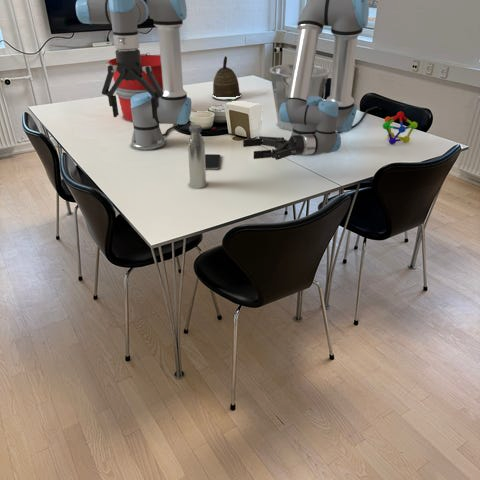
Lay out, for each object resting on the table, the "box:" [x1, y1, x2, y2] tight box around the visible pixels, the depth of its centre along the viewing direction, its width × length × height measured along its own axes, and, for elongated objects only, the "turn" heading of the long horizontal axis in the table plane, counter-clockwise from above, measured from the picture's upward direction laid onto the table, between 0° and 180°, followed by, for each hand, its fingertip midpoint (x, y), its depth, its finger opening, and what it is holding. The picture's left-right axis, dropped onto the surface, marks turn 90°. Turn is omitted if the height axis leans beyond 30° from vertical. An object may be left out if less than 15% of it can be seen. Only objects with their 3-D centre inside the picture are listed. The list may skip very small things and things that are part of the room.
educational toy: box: [382, 110, 418, 145], centre depth 207 cm, size 16×13×15 cm
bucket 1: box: [105, 52, 163, 123], centre depth 239 cm, size 35×35×30 cm
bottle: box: [187, 132, 207, 189], centre depth 164 cm, size 6×6×22 cm
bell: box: [212, 56, 242, 97], centre depth 278 cm, size 19×26×20 cm
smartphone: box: [205, 153, 221, 170], centre depth 189 cm, size 7×1×15 cm
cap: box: [188, 124, 203, 134], centre depth 158 cm, size 4×4×2 cm
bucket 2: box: [269, 63, 330, 131], centre depth 226 cm, size 30×30×28 cm
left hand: (135, 116), depth 150 cm, fingers open, 13 cm apart
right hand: (248, 149), depth 165 cm, fingers open, 13 cm apart
